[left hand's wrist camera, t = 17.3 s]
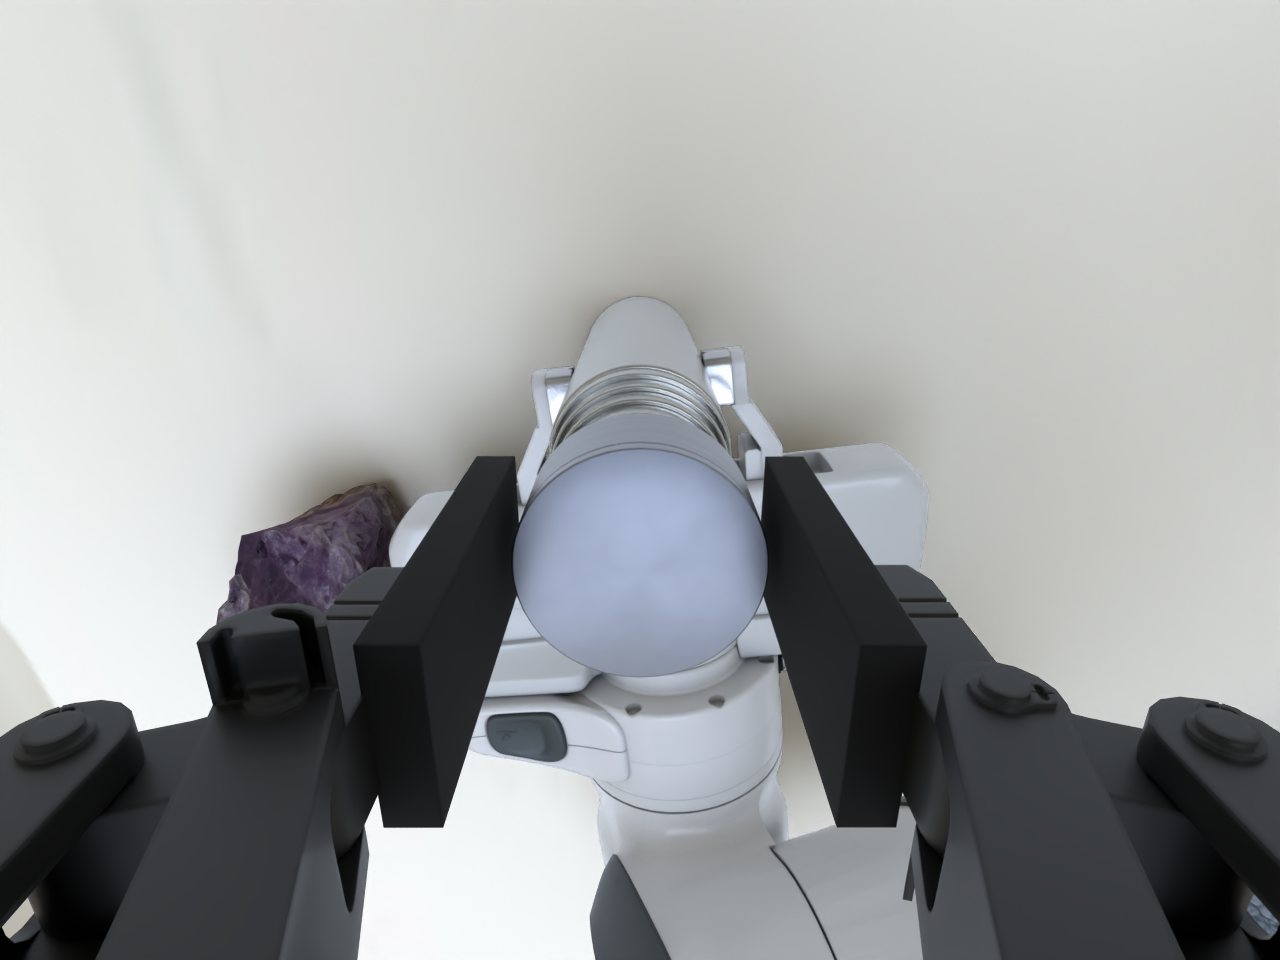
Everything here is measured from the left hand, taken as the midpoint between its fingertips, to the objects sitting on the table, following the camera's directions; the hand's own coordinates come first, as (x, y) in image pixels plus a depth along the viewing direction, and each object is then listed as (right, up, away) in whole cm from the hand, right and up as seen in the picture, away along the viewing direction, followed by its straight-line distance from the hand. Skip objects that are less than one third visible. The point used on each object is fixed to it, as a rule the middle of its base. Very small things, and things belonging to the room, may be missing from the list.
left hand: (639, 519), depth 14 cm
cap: (0, -1, -2) cm, 2 cm away
